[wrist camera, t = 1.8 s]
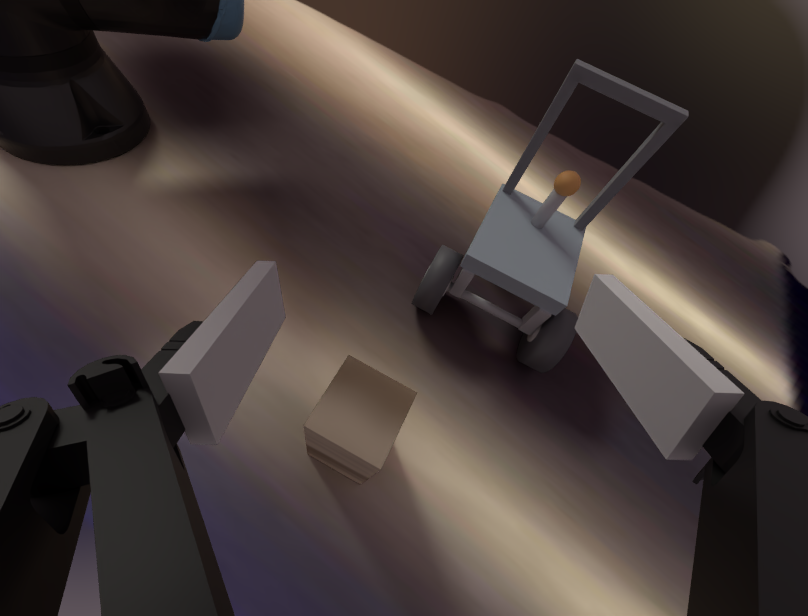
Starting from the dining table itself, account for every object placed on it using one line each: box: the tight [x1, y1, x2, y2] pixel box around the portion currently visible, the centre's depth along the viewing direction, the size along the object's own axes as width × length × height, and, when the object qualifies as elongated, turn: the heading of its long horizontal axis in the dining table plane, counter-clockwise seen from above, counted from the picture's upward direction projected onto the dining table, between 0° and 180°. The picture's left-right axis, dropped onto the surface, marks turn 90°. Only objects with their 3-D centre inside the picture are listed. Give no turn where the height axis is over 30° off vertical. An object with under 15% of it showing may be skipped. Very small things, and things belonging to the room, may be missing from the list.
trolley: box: [412, 59, 688, 373], centre depth 32 cm, size 15×15×22 cm
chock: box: [304, 355, 417, 484], centre depth 25 cm, size 5×5×11 cm
